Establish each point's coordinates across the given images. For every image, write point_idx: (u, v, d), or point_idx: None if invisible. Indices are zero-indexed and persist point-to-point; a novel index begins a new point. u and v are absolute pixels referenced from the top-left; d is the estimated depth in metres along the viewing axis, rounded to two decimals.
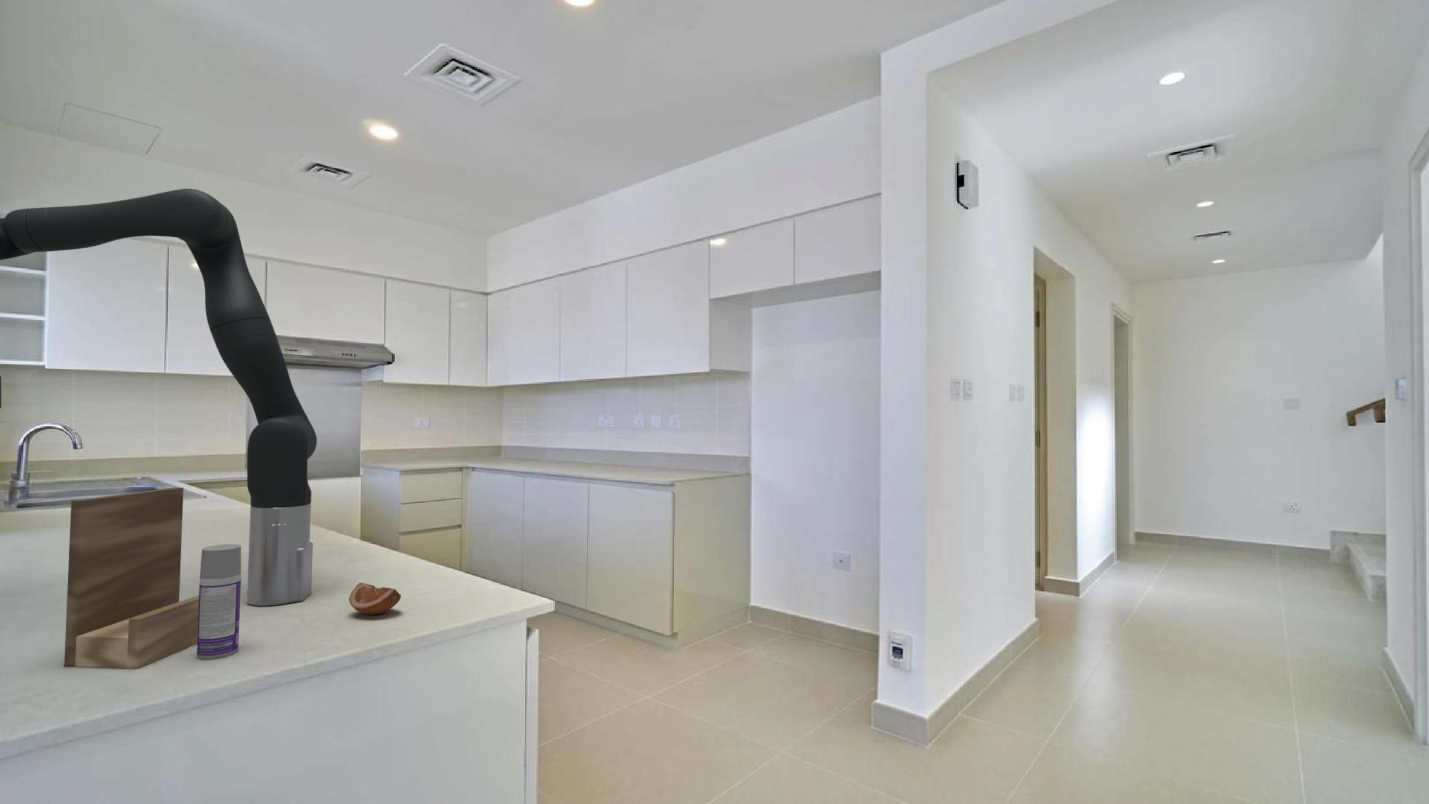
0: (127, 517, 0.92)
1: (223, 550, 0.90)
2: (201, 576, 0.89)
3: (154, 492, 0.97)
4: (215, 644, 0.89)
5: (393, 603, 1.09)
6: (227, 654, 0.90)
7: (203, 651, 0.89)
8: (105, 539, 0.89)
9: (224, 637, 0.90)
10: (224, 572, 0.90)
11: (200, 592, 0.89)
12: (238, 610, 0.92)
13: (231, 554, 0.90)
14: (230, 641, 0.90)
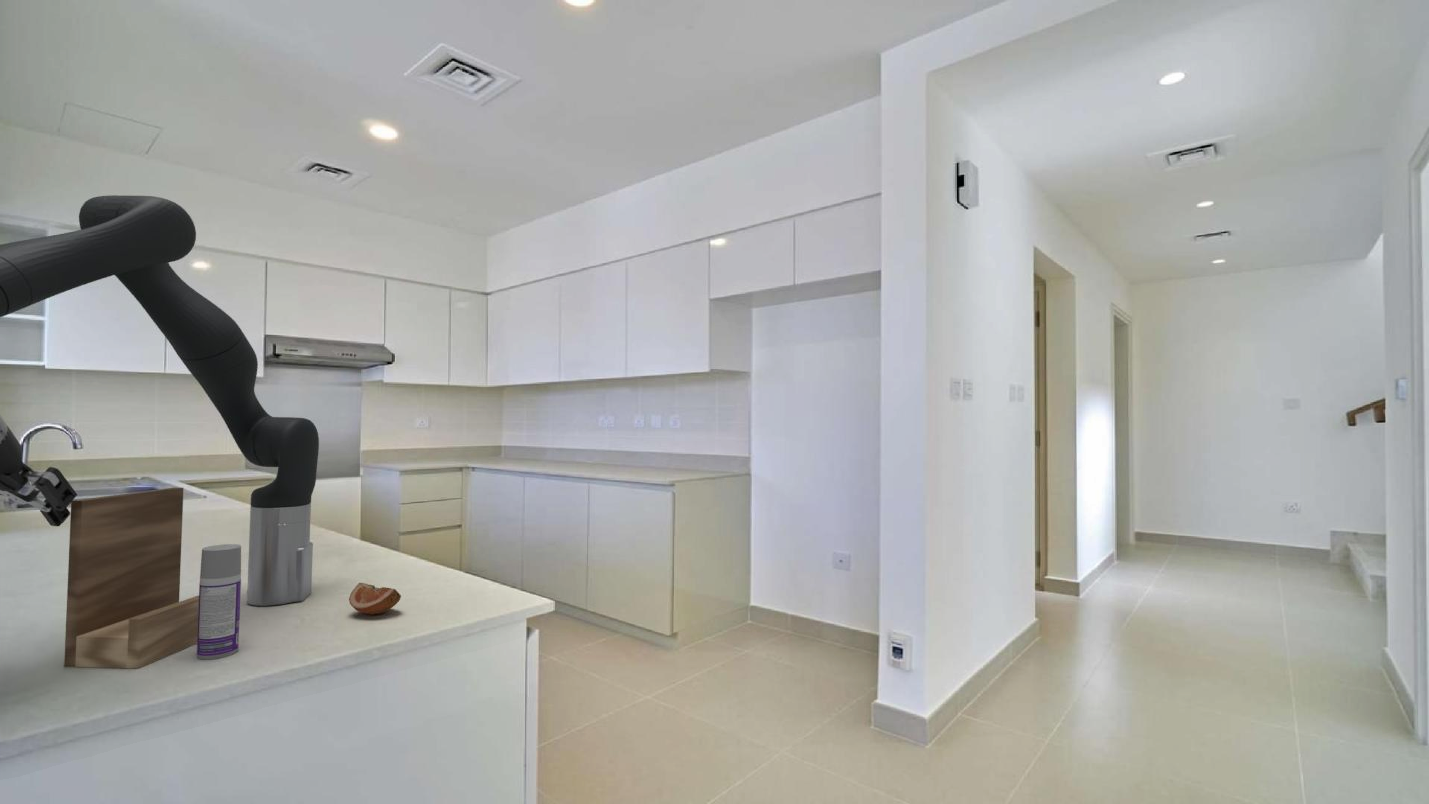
0: (127, 517, 0.92)
1: (223, 550, 0.90)
2: (201, 576, 0.89)
3: (154, 492, 0.97)
4: (215, 644, 0.89)
5: (393, 603, 1.09)
6: (227, 654, 0.90)
7: (203, 651, 0.89)
8: (105, 539, 0.89)
9: (224, 637, 0.90)
10: (224, 572, 0.90)
11: (200, 592, 0.89)
12: (238, 610, 0.92)
13: (231, 554, 0.90)
14: (230, 641, 0.90)
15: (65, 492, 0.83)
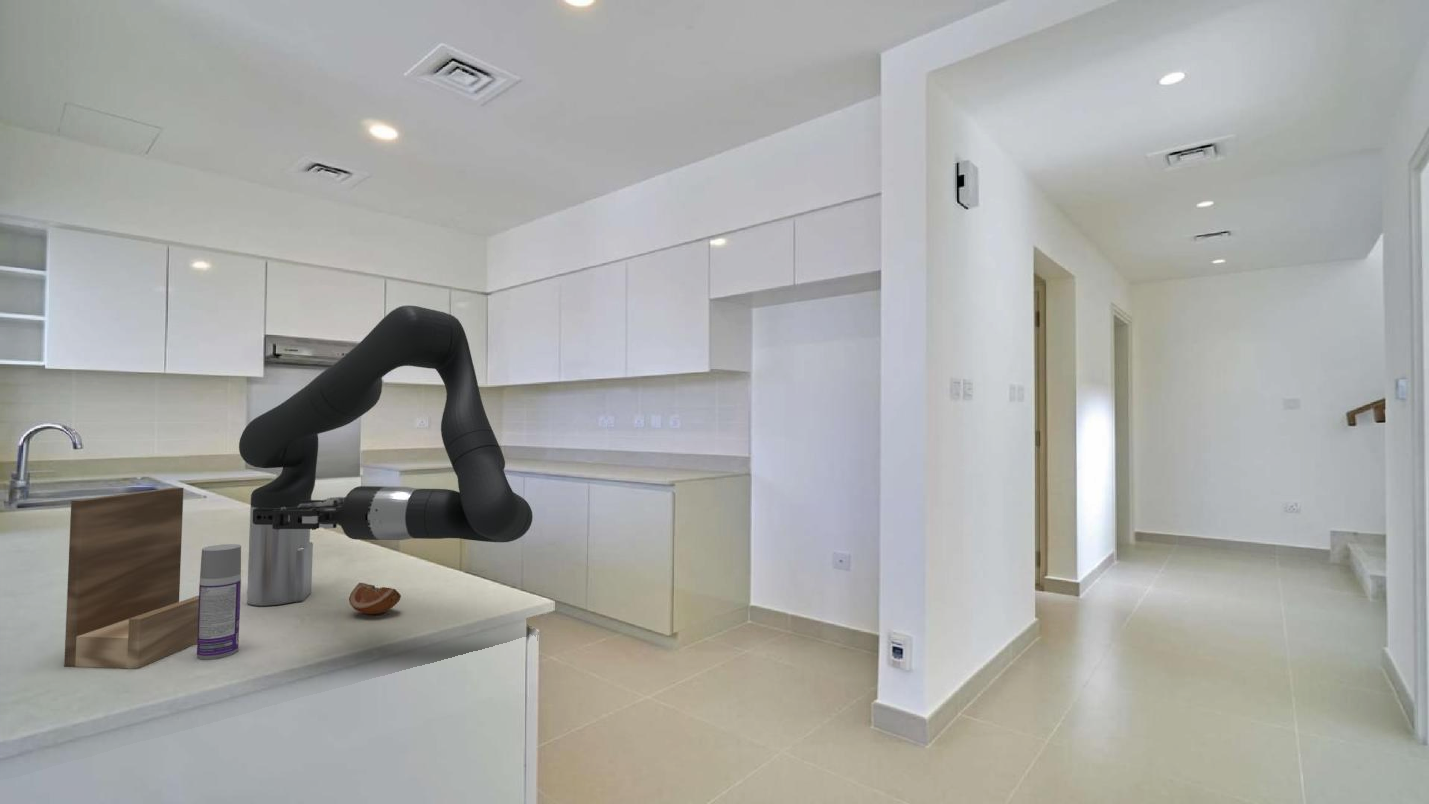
0: (127, 517, 0.92)
1: (223, 550, 0.90)
2: (201, 576, 0.89)
3: (154, 492, 0.97)
4: (215, 644, 0.89)
5: (393, 603, 1.09)
6: (227, 654, 0.90)
7: (203, 651, 0.89)
8: (105, 539, 0.89)
9: (224, 637, 0.90)
10: (224, 572, 0.90)
11: (200, 592, 0.89)
12: (238, 610, 0.92)
13: (231, 554, 0.90)
14: (230, 641, 0.90)
15: None
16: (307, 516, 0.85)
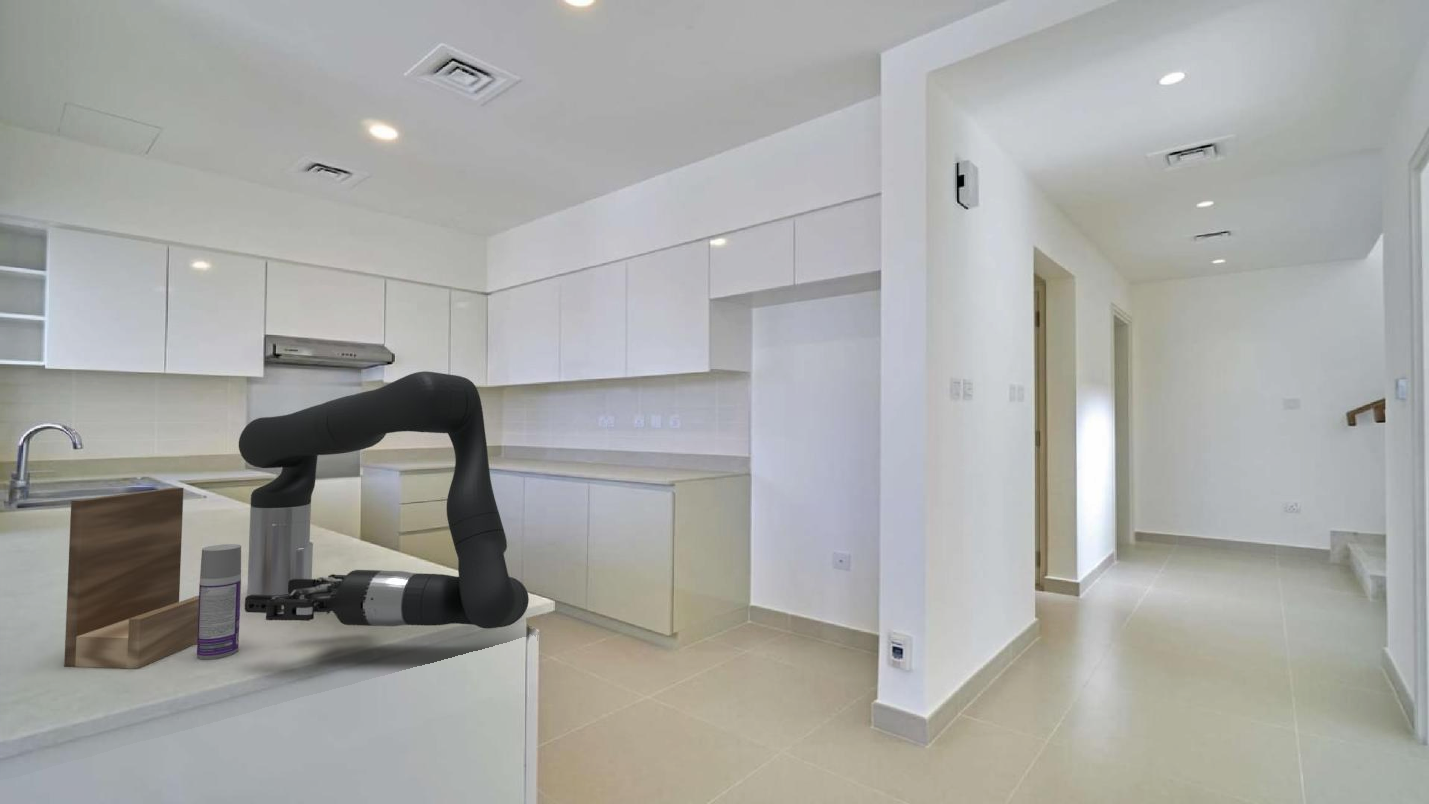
0: (127, 517, 0.92)
1: (223, 550, 0.90)
2: (201, 576, 0.89)
3: (154, 492, 0.97)
4: (215, 644, 0.89)
5: None
6: (227, 654, 0.90)
7: (203, 651, 0.89)
8: (105, 539, 0.89)
9: (224, 637, 0.90)
10: (224, 572, 0.90)
11: (200, 592, 0.89)
12: (238, 610, 0.92)
13: (231, 554, 0.90)
14: (230, 641, 0.90)
15: (336, 579, 0.97)
16: (302, 607, 0.84)
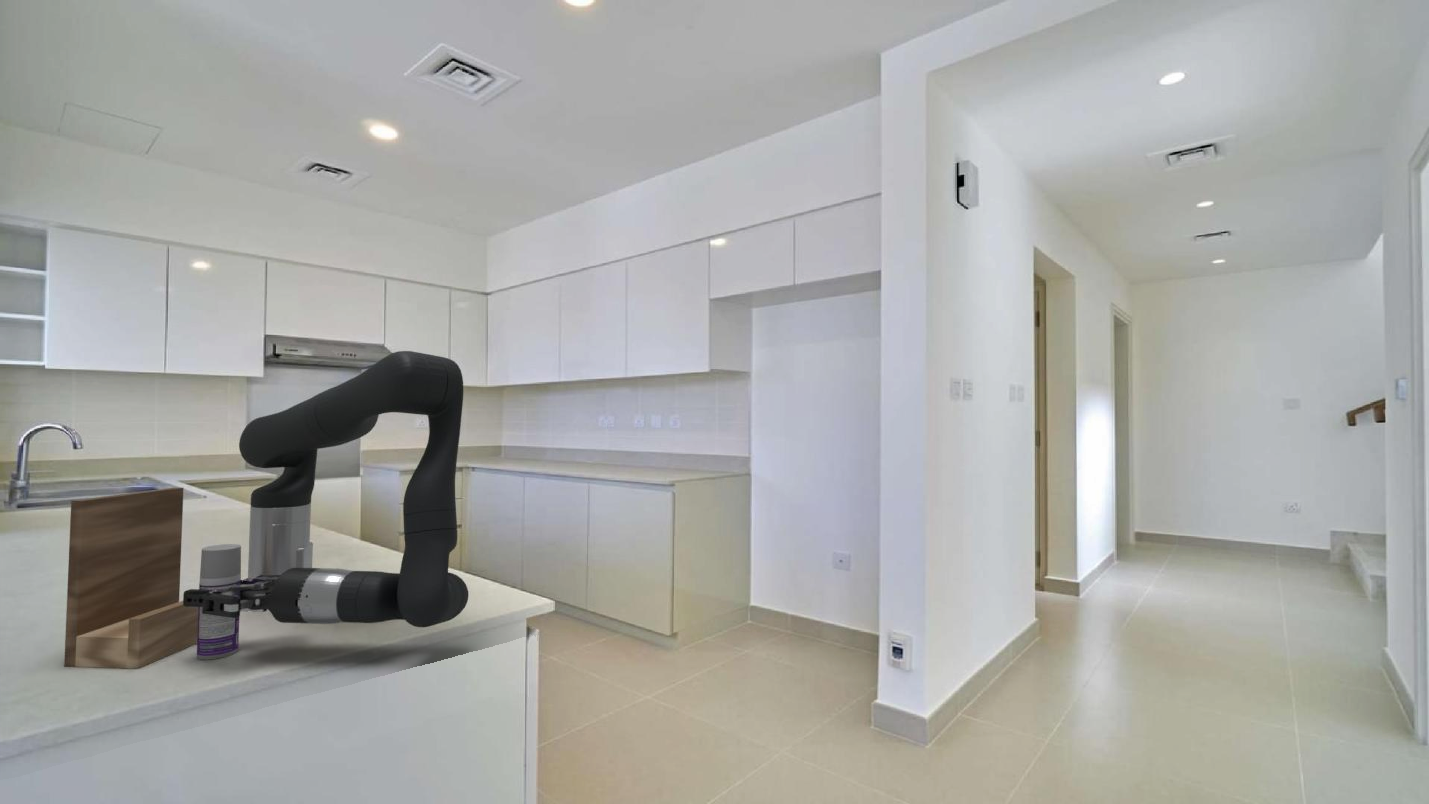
0: (127, 517, 0.92)
1: (223, 550, 0.90)
2: (200, 576, 0.89)
3: (154, 492, 0.97)
4: (215, 644, 0.89)
5: None
6: (227, 654, 0.90)
7: (203, 651, 0.89)
8: (105, 539, 0.89)
9: (224, 637, 0.90)
10: (224, 572, 0.90)
11: None
12: None
13: (231, 554, 0.90)
14: (230, 641, 0.90)
15: None
16: (227, 604, 0.84)
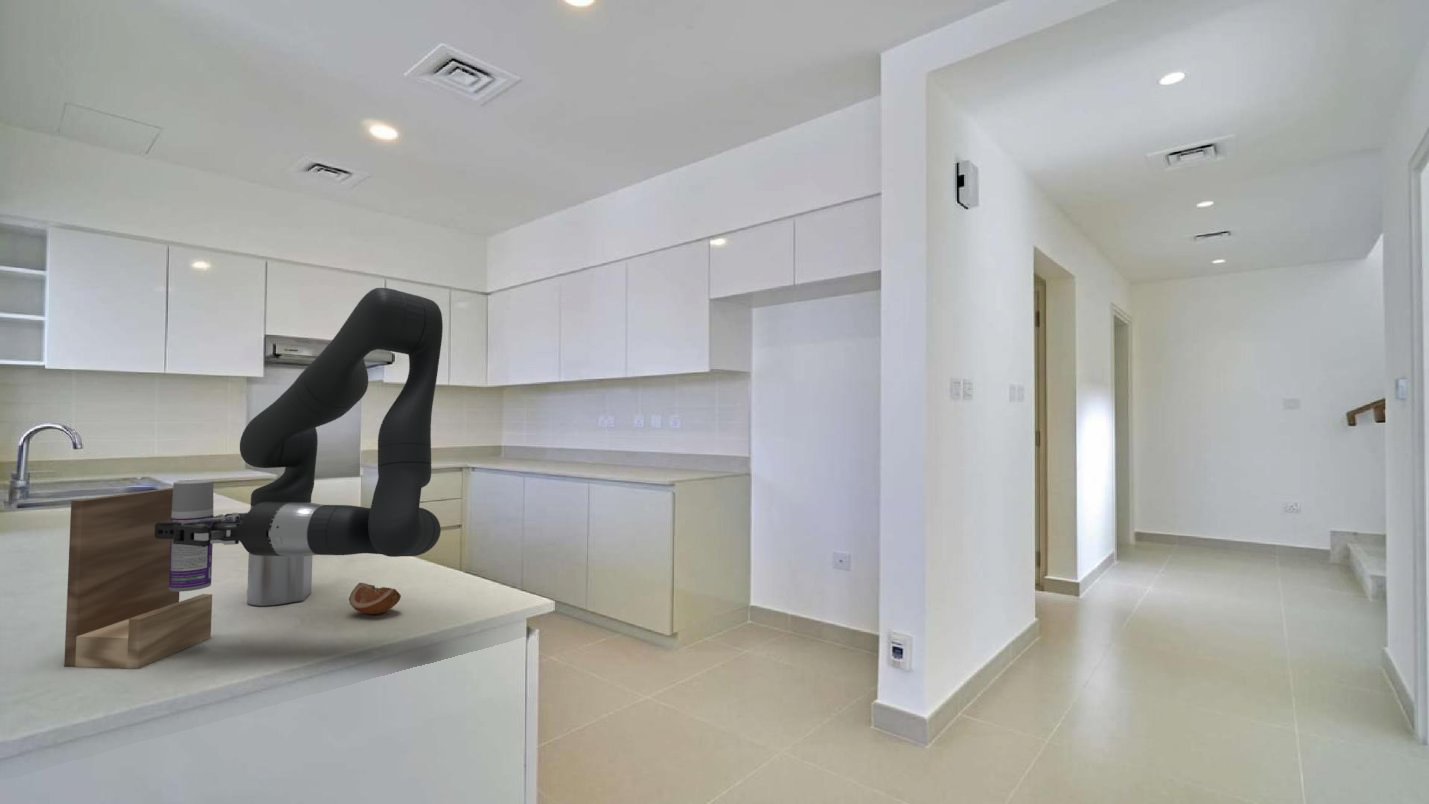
0: (127, 517, 0.92)
1: (195, 483, 0.90)
2: (172, 509, 0.90)
3: (154, 492, 0.97)
4: (187, 576, 0.89)
5: (393, 603, 1.09)
6: (199, 587, 0.90)
7: (175, 583, 0.89)
8: (105, 539, 0.89)
9: (196, 570, 0.90)
10: (196, 505, 0.90)
11: None
12: (210, 544, 0.92)
13: (203, 488, 0.91)
14: (202, 574, 0.91)
15: None
16: (197, 533, 0.85)
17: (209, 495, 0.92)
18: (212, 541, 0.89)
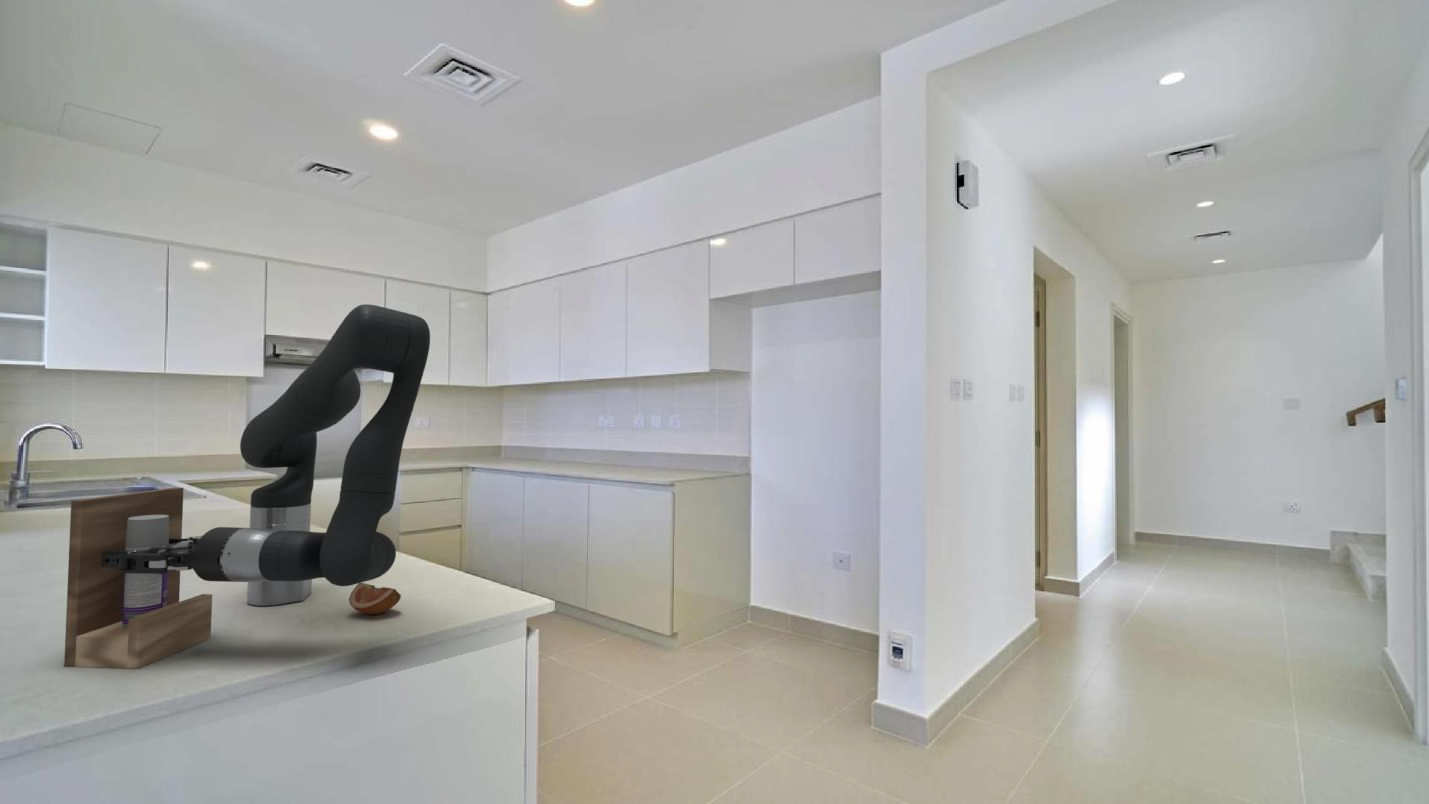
0: (127, 517, 0.92)
1: (149, 519, 0.90)
2: (126, 545, 0.90)
3: (154, 492, 0.97)
4: (140, 613, 0.89)
5: (393, 603, 1.09)
6: None
7: (128, 620, 0.89)
8: (105, 539, 0.89)
9: (149, 606, 0.90)
10: (150, 541, 0.90)
11: None
12: (165, 580, 0.92)
13: (158, 524, 0.91)
14: None
15: None
16: (154, 561, 0.84)
17: (164, 530, 0.92)
18: None
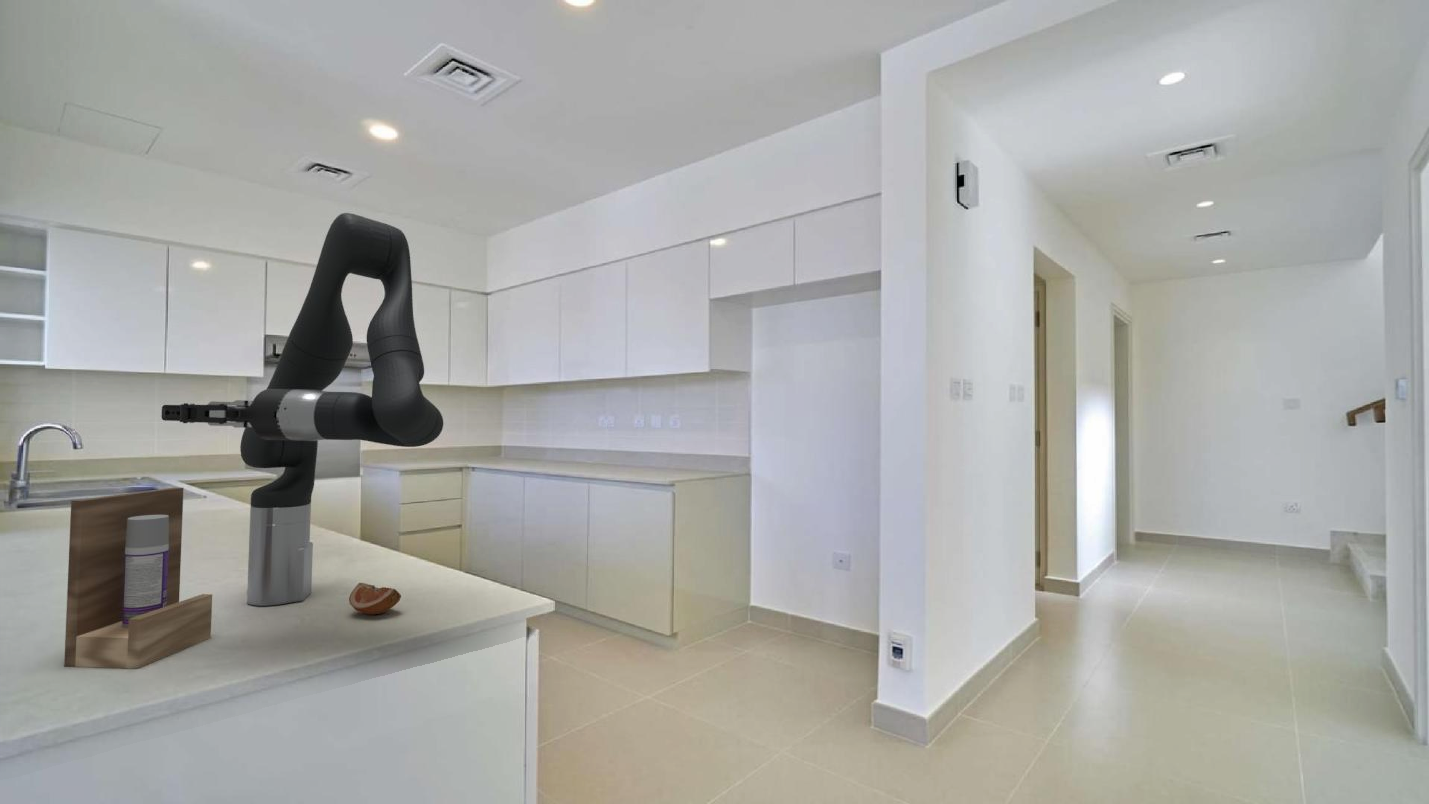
0: (127, 517, 0.92)
1: (148, 519, 0.90)
2: (126, 545, 0.90)
3: (154, 492, 0.97)
4: (140, 613, 0.89)
5: (393, 603, 1.09)
6: None
7: (128, 620, 0.89)
8: (105, 539, 0.89)
9: (149, 606, 0.90)
10: (149, 541, 0.90)
11: (125, 561, 0.89)
12: (165, 580, 0.92)
13: (157, 524, 0.91)
14: None
15: None
16: (214, 410, 0.87)
17: (164, 530, 0.92)
18: (222, 423, 0.91)
